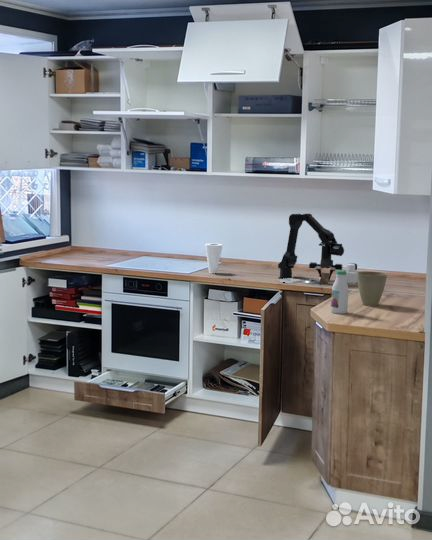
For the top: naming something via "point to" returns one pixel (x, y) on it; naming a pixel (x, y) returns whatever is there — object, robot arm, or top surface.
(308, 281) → the crank
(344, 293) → the milk bottle
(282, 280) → the tray
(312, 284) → the crank plate
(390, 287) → the top surface
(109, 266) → the top surface
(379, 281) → the plant pot
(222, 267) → the top surface
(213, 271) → the cup
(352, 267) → the medicine bottle
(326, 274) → the block
